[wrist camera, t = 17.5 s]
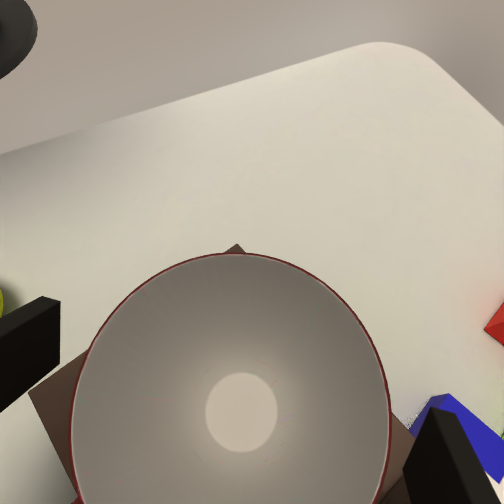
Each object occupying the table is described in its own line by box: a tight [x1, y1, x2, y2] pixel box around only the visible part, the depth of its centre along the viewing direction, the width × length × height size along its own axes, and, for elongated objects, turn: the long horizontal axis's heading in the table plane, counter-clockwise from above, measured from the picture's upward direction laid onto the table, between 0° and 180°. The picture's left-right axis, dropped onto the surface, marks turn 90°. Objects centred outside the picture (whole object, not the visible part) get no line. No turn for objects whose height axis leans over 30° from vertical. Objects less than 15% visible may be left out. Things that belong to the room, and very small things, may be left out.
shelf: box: [28, 244, 416, 504], centre depth 18 cm, size 16×14×8 cm
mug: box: [68, 252, 392, 504], centre depth 13 cm, size 10×8×10 cm
